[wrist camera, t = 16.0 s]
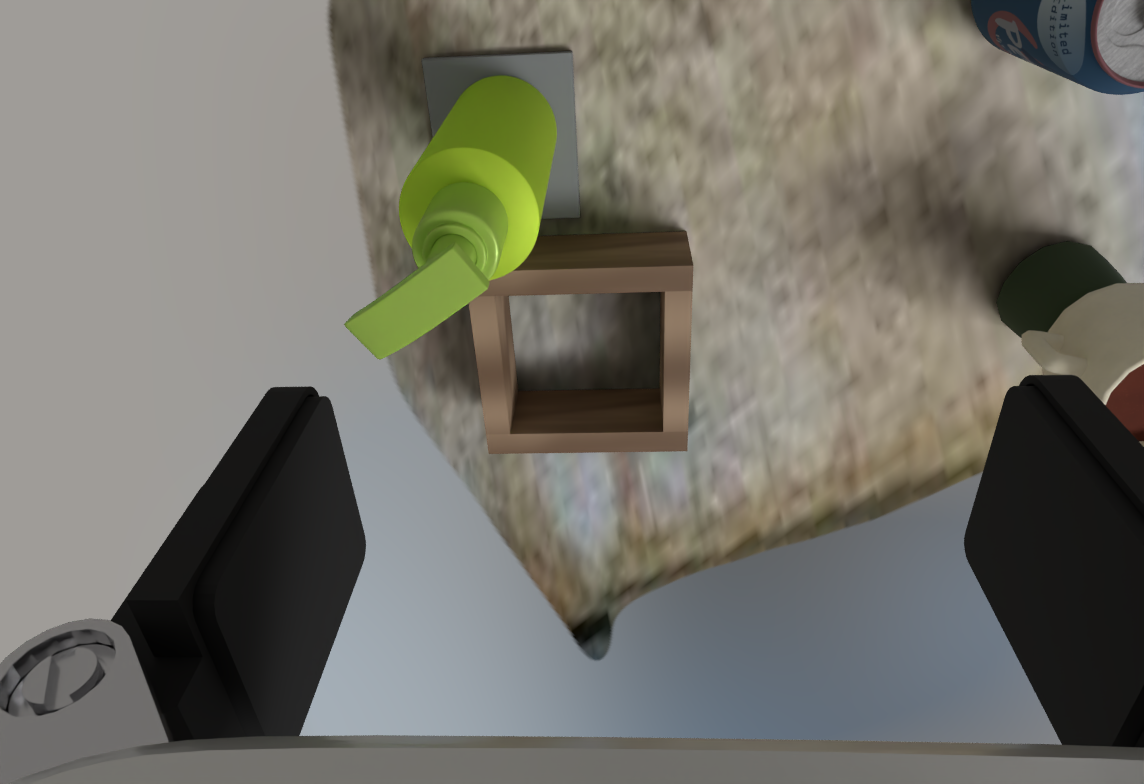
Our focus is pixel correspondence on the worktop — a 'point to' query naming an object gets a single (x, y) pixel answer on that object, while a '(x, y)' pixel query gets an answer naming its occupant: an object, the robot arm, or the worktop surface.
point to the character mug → (1081, 324)
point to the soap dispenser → (466, 209)
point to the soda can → (1071, 38)
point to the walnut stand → (589, 413)
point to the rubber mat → (543, 73)
